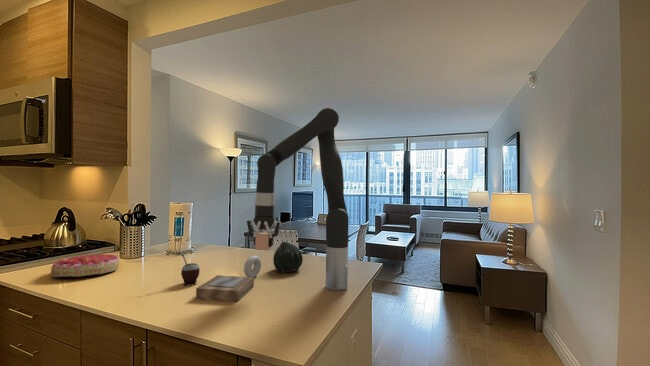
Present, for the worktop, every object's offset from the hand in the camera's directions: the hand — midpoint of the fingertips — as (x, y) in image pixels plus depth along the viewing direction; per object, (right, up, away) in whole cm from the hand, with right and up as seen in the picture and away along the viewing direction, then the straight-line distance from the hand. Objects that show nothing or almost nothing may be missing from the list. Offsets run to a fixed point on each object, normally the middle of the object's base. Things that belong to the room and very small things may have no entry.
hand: (263, 246), depth 118 cm
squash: (+6, -18, +29) cm, 35 cm away
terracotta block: (0, -1, 0) cm, 1 cm away
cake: (-87, -17, +19) cm, 90 cm away
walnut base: (-14, -18, -3) cm, 22 cm away
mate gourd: (-33, -18, +7) cm, 38 cm away
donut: (-8, -18, +17) cm, 26 cm away
